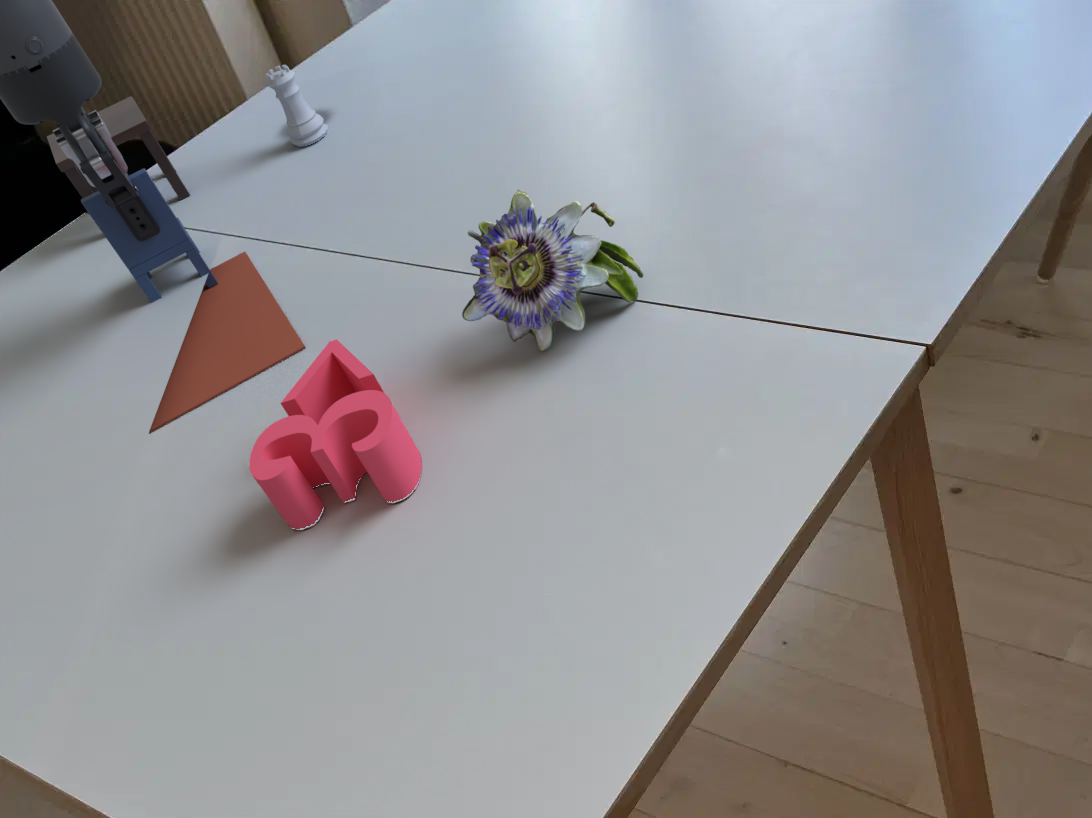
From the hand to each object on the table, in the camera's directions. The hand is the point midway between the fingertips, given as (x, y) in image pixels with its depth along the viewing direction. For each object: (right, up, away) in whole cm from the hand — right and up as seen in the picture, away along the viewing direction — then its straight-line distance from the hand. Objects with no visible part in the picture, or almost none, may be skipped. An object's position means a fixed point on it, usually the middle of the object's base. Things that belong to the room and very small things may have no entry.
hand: (148, 232), depth 99 cm
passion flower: (+38, -9, -14) cm, 42 cm away
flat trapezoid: (+5, -9, -1) cm, 11 cm away
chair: (0, -4, +7) cm, 7 cm away
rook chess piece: (+7, +16, +25) cm, 30 cm away
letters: (+24, -20, -19) cm, 37 cm away
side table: (-12, +9, +25) cm, 29 cm away
